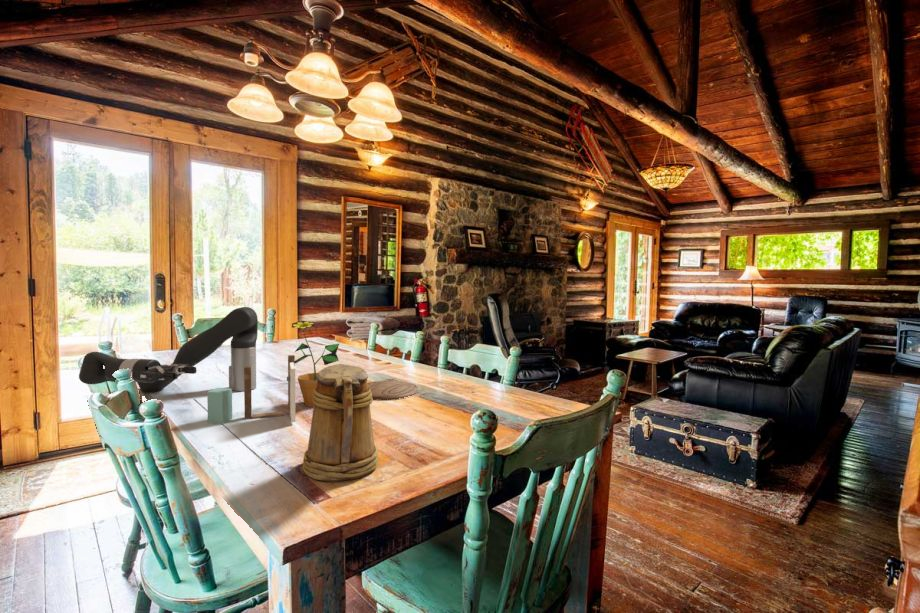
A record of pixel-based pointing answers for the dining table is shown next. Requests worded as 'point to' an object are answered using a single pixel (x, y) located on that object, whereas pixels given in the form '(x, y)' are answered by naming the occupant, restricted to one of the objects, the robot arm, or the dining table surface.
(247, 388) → the door frame
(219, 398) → the teal block
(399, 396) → the trivet
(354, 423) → the tankard
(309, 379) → the potted plant
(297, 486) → the dining table surface
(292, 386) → the cream door
